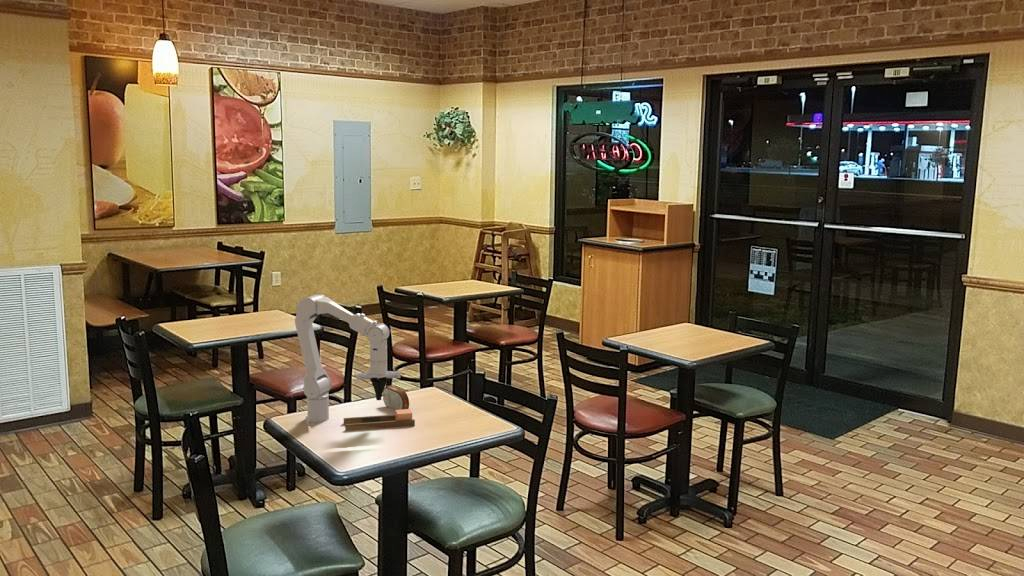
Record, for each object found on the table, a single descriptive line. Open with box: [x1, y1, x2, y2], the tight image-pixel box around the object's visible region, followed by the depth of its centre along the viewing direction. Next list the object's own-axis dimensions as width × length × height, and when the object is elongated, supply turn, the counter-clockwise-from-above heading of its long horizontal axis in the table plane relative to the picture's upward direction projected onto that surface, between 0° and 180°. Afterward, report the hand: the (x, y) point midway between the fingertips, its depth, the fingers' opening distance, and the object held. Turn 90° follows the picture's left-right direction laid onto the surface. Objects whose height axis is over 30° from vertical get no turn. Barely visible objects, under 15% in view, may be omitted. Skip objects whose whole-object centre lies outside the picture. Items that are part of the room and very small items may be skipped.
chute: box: [343, 414, 416, 432], centre depth 277 cm, size 8×23×3 cm, turn 107°
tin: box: [382, 384, 410, 410], centre depth 297 cm, size 15×3×8 cm, turn 39°
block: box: [394, 408, 413, 421], centre depth 279 cm, size 5×5×4 cm
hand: (378, 399), depth 275 cm, fingers closed
